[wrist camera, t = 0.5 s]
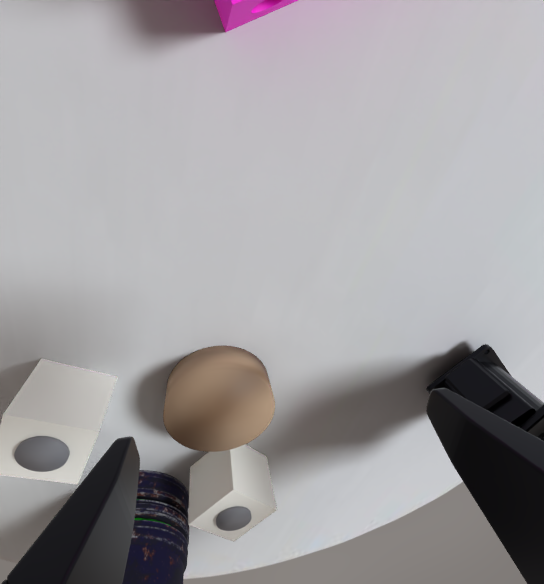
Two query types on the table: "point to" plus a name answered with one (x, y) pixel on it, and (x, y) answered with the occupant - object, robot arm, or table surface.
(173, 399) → the beige rounded disc
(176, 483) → the storage jar
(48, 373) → the marked cube
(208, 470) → the marked cube
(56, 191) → the table surface
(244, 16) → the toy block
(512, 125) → the table surface
